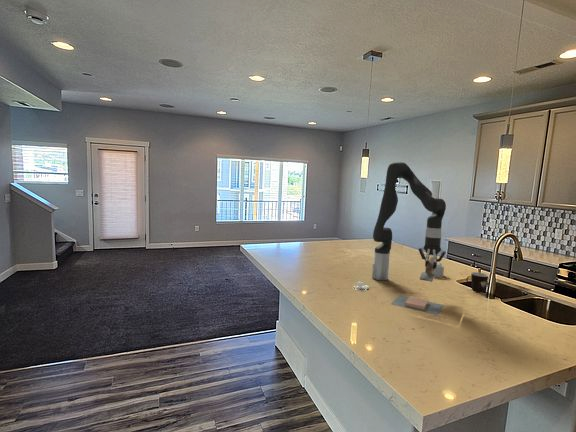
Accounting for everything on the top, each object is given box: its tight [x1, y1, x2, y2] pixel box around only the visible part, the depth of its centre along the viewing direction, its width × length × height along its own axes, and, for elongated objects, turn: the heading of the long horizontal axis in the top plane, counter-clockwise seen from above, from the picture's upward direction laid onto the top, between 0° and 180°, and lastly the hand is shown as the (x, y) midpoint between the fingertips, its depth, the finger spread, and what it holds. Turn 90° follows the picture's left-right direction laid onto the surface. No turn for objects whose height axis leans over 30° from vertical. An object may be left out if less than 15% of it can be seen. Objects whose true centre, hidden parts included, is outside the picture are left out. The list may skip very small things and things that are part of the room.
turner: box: [419, 256, 436, 283], centre depth 168 cm, size 6×18×4 cm, turn 144°
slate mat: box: [390, 294, 444, 316], centre depth 160 cm, size 22×16×1 cm
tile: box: [405, 295, 430, 310], centre depth 160 cm, size 9×2×11 cm
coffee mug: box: [465, 271, 489, 294], centre depth 187 cm, size 12×9×10 cm
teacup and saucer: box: [352, 281, 370, 292], centre depth 184 cm, size 9×8×4 cm
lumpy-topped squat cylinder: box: [424, 261, 445, 278], centre depth 218 cm, size 10×13×9 cm
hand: (430, 268), depth 170 cm, fingers closed on turner, 2 cm apart
